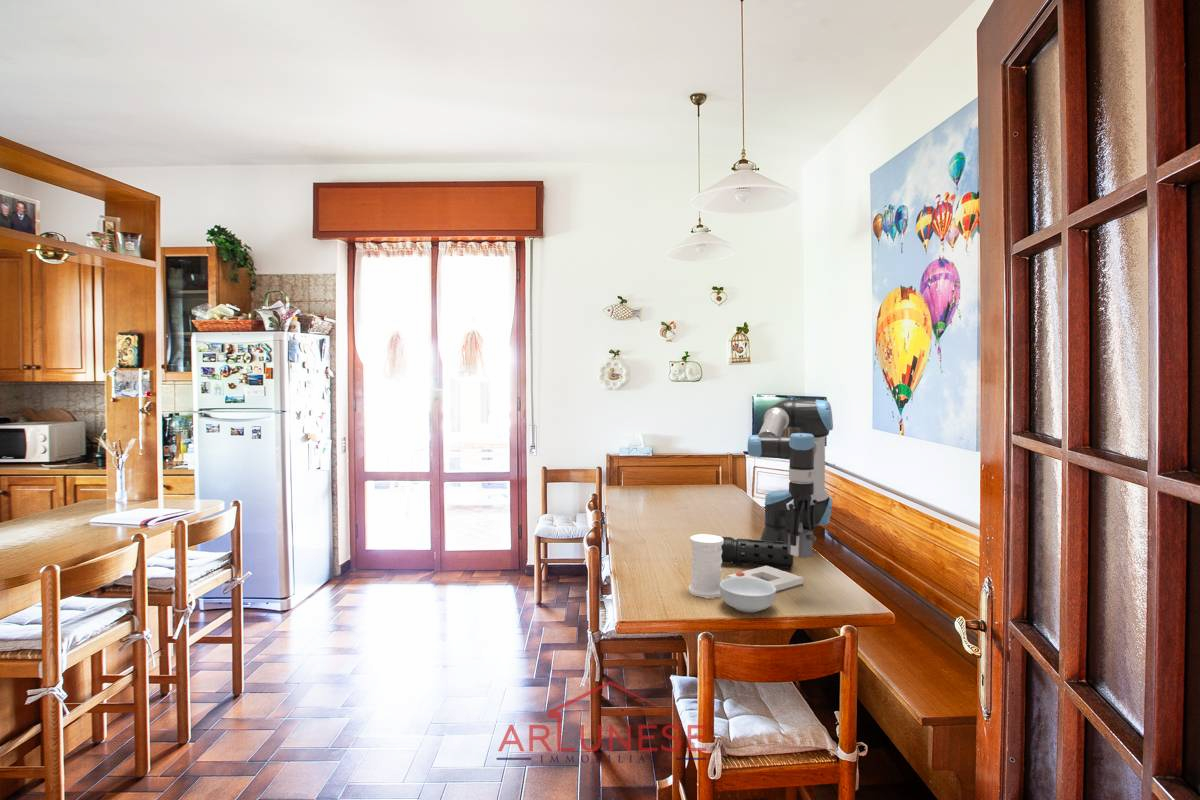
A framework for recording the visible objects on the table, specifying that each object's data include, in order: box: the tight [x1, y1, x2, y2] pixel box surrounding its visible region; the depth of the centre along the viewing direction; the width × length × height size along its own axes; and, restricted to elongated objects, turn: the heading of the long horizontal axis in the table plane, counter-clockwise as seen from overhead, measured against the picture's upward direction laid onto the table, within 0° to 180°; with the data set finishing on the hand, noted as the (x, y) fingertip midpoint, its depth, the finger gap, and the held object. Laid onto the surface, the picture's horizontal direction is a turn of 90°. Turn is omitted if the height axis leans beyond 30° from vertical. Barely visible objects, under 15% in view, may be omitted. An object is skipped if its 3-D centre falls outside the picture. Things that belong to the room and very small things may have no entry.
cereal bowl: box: [720, 577, 777, 614], centre depth 186 cm, size 17×17×7 cm
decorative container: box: [688, 533, 724, 599], centre depth 199 cm, size 12×12×18 cm
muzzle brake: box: [721, 536, 794, 570], centre depth 228 cm, size 10×28×10 cm, turn 76°
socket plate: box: [727, 566, 804, 594], centre depth 208 cm, size 20×16×3 cm
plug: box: [788, 527, 817, 559], centre depth 192 cm, size 8×4×8 cm, turn 34°
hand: (800, 553), depth 194 cm, fingers closed on plug, 4 cm apart
